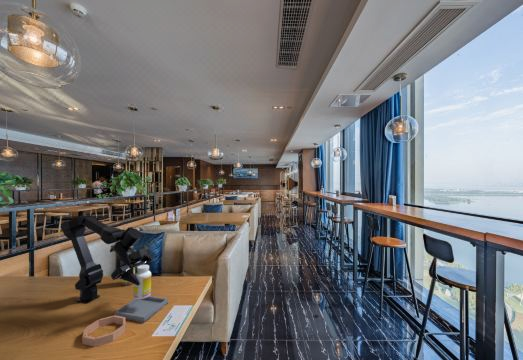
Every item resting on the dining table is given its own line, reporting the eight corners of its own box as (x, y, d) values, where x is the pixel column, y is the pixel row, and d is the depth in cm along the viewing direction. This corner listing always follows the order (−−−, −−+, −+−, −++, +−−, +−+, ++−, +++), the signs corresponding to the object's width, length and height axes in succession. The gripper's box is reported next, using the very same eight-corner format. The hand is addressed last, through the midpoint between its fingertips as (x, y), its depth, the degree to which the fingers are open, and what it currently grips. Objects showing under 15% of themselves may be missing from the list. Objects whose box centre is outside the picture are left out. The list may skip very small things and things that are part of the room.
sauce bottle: (128, 286, 118) (129, 249, 118) (118, 285, 119) (119, 248, 119) (137, 281, 124) (138, 245, 124) (128, 280, 125) (128, 244, 125)
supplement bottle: (152, 292, 101) (153, 263, 101) (147, 299, 94) (148, 269, 94) (136, 293, 100) (137, 264, 100) (130, 300, 93) (131, 269, 93)
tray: (114, 317, 92) (114, 312, 92) (141, 298, 106) (141, 294, 106) (144, 322, 88) (144, 317, 88) (168, 303, 102) (168, 298, 102)
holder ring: (73, 342, 77) (74, 334, 77) (106, 320, 89) (107, 313, 89) (103, 348, 74) (103, 341, 74) (133, 325, 87) (133, 318, 87)
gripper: (117, 247, 89) (139, 278, 86) (151, 236, 107) (171, 262, 104) (101, 264, 91) (122, 296, 88) (138, 251, 109) (156, 276, 106)
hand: (145, 281), depth 97 cm, fingers closed on supplement bottle, 7 cm apart
